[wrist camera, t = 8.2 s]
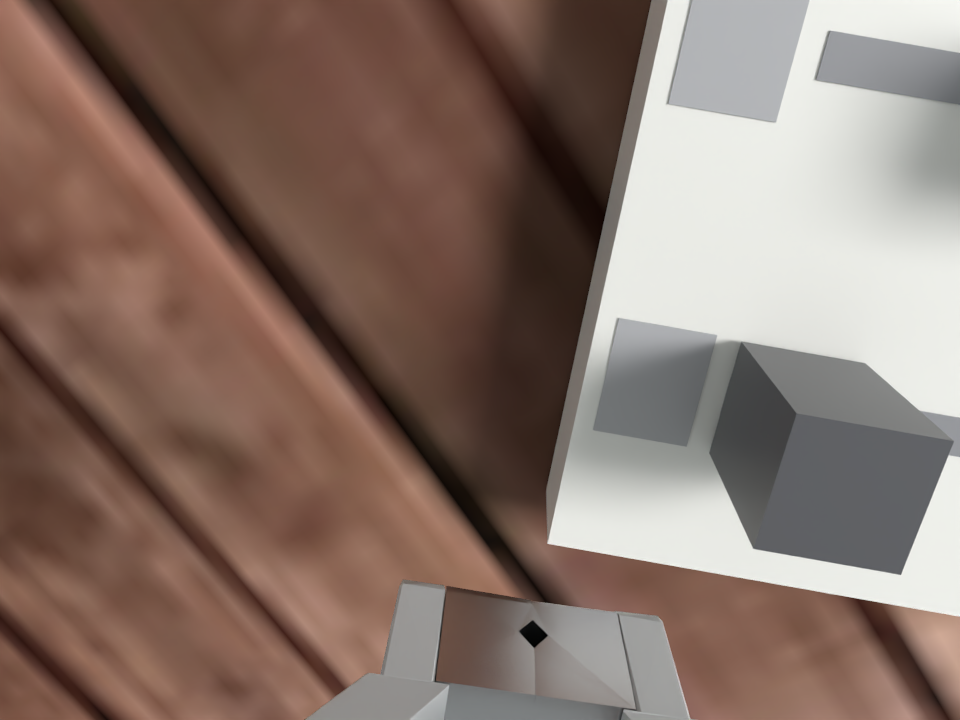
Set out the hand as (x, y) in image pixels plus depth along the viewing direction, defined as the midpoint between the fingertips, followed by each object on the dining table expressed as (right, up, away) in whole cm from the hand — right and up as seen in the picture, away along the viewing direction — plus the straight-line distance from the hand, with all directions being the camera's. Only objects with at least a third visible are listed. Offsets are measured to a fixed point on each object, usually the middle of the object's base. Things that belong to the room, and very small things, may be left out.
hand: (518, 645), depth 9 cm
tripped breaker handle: (+7, +2, +11) cm, 13 cm away
